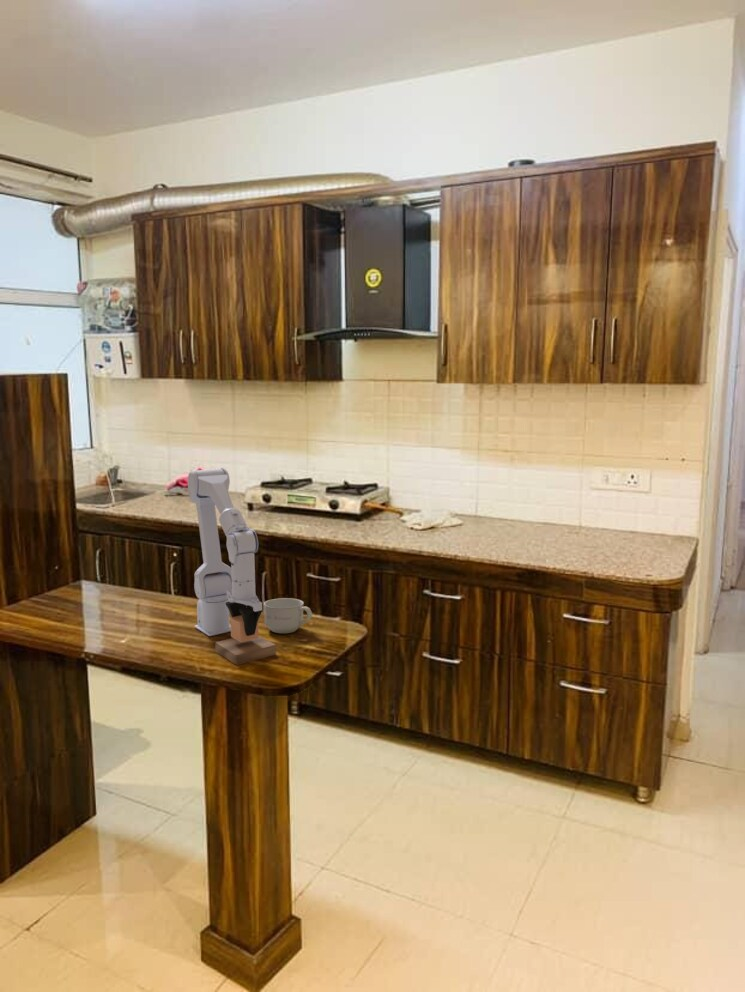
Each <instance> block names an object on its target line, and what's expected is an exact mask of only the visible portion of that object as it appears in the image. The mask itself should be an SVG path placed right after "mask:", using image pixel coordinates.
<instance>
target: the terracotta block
mask: <svg viewBox="0 0 745 992" xmlns="http://www.w3.org/2000/svg"><path fill="white" fill-rule="evenodd" d="M229 620H230V625H231V631H230V638H234V639H236V640H237V641H239V642H244V641H249V640H253V639H257V638H258V636H259V621H258V622H257V626H256V630H255V634H254V635H250V636H247V635H246V633H245V627H244V621H243V618H242V615H240V616H236V617H232V616H231V617H229Z"/></svg>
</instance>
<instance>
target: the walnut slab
mask: <svg viewBox="0 0 745 992" xmlns="http://www.w3.org/2000/svg"><path fill="white" fill-rule="evenodd" d="M214 643H215V645H214V647H215V653H216V652H217V653H216V654H218V655H220V656H221V657H223V658H224V659H225V660H228V661H229V662H231V663H233V664H234V665H235V664H236V665H235V666H238V665H239V666H240V665H243V664H247V663H250V662H253V661H256V660H261V659H265V658H268V657H271V656H275V655H277V647H276V646H277V645H276V644H275V643H273V642H271V641H270V640H268V639H266V638H264V637H262V636H260V635H258V638H257V639H253V640H249V641H244V642H239V641H237V640H236V639H234V638H232V637H230V638H228V639H223V640H219V641H215V642H214Z"/></svg>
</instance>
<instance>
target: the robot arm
mask: <svg viewBox="0 0 745 992" xmlns="http://www.w3.org/2000/svg"><path fill="white" fill-rule="evenodd" d="M230 481H231V480H230V474H229V472H228V470H227V469H226V468H224V467H221V468H212V469H210V468H209V469H200V470H199V469H197V470H194V469H193V470H191V471H189V473H188V476H187V489H188V490H187V492H188V497H189V501H190V502H191V503H195V506H196V512H197V521H198V528H199V537H200V544H201V552H202V561H203V563H202V564H201V565H200V566H199V567H198V568H197V570H195V571H194V582H193V583H194V584H193V585H194V586H193V587H194V593H195V595H196V597H197V598H198V600H197V604H196V614H197V615H196V617H197V624H195V625H194V628H195V629H197V630H199V631H200V632H201V633H202V634H205V635H207V636H209V637H212V636H217V635H222V634H225V633H231V621H230V616H231V617H236V616H240V615H242V618H243V621H244V627H245V633H246V635H247V636H250V635H254V634H255V630H256V626H257V622H258V623H259V619H260V616H261V614H262V613H263V611H264V606H263V602H261V601H260V599H259V598H258V596H257V594H256V569H255V568H256V567H255V563H256V562H255V554H256V553H258V550H259V539H258V536H257V535H258V534H257V533H256V531H255V530H254V529H252V528H251V527H249V526H248V525H247V523H246V521H245V519H244V517H243V515H242V512H241V511H240V510H239V509H238V508H234V504H233V502H232V500H231V495H230V493H229V488H230ZM216 509H217V510H218V512H219V514H220V515H219V517H218V519H217V512H216ZM217 520H218V521H219V524H220V526H221V528H222V530H223V533H224V535H225V536H226V544H225V545H226V549H227V552H228V560H229V562H230V565H231V566H229V565H228V564H226V563H224V562H223V561H222V552H221V544H220V536H219V529H218V528H219V527H218V521H217ZM216 573H217V574H216Z"/></svg>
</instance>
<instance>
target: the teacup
mask: <svg viewBox="0 0 745 992" xmlns="http://www.w3.org/2000/svg"><path fill="white" fill-rule="evenodd" d="M304 605H305V604H304V601H303V600H301V599H298V598H293V597H292V598H291V597H290V598H287V597H282V598H274V599H272V598H271V599H269V600H266V601H264V602H263V611H264V613H263V614H264V625H265V626H266V627H267V628H268V629H269V630H270V631H271V632H273V633H276V634H290V633H294V632H296V631H297V630H298V629H299V628H300V627H303V625H304V624H306V623H307V622H309V621H310V620H311V618H312V616H313V614H312V610H311V608H310V607H308V606H306V605H305V606H304ZM304 611H305V612H306V614H307V616H306V617H305V619H304Z"/></svg>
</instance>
